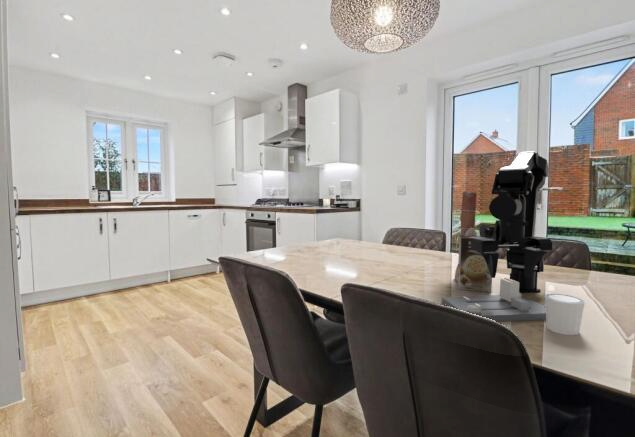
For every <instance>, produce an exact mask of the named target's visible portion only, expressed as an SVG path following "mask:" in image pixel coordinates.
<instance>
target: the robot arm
mask: <svg viewBox="0 0 635 437" xmlns="http://www.w3.org/2000/svg"><path fill="white" fill-rule="evenodd" d="M549 169H550V168H549V163H548V160H547V159H546V158H544V157H543V156H540V155H539V152H538V151H536V150H532V151H531V150H530V151H520V152H518V153H517V154H516V158H514V160H513V161H512V163H511V164H510V165H507V166H503V167H500V168H499V169H498V171H497V173H495V176H494V181H493V183H492V184H493V185H492V190H491V195H496V197H494V198H493V199H492V200H491V201H490V203H489V206H488V209H489V213H490V215H491V216H492V217H493V218H495V219H496V220H495V223H494V226H490V224H481V225H480V226H479V230H478V231H479V236H481V237H486V238H474V239H473V240H472V242H471V249H474V250H476V252H479V253H481V255H482V256H483V257H484V259H485V262H486V264H487V267H488V270H489V272H490V275H491V277H492V279H495V278H496V275H497V270H498V264H499V263H498V262H499V255H500V253H499V252H497V251H498V250H499V249H504V248H505V249H507V250H506V269H509V270H510V273H509V279H512V280H514V281H517V282H519V293H534V292H535V293H536V292H537V293H538V292H541V291H542V290H541V289H540V288H538V274H539V273H543V272H545V271H544V270H545V269H544V268H545V264H544V263H545V262H544V256H545V255H547V254H548V253H549V252H548V251H553V248H554V244H553V241H552V240H551V238H546V237H541V236H535V227H536V216H537V208H538V207H537V205H538V196H539V195H538V194H539V191H541V189H542V188H543V187H544V186H545V184H546V178H548V177H549Z"/></svg>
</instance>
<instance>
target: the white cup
mask: <svg viewBox="0 0 635 437" xmlns="http://www.w3.org/2000/svg"><path fill="white" fill-rule="evenodd" d="M544 303H545V304H544V306H545V307H546V320H545V321H546V328H547V329H548V330H549V331H551V332H554V333H557V334H560V335H564V336H565V335H566V336H576V335H579V334H580V330H581V324H582V319H583V312H584V307H585V300H583V299H582V298H580V297H577V296H573V295H568V294H561V293H547V294H545V295H544Z"/></svg>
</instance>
